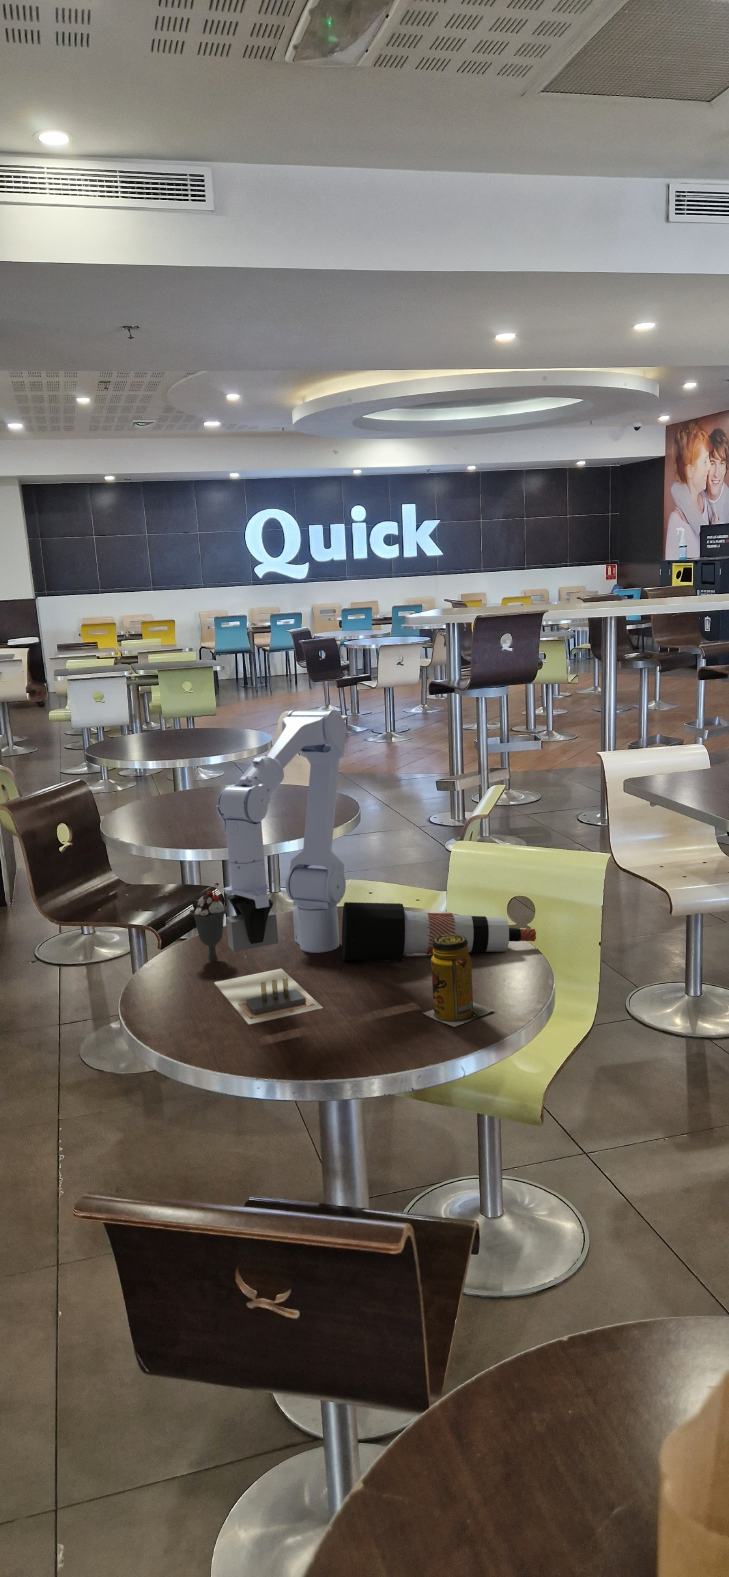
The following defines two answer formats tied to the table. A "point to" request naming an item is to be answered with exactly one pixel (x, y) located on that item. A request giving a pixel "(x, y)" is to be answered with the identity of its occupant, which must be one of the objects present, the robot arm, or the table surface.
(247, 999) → the board
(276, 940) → the block
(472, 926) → the striped banded cylinder
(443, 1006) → the condiment
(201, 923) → the sundae
